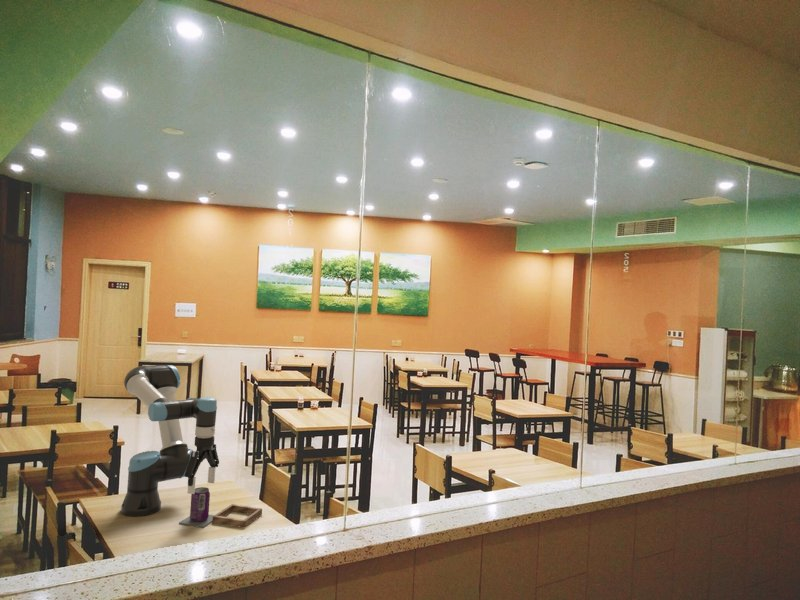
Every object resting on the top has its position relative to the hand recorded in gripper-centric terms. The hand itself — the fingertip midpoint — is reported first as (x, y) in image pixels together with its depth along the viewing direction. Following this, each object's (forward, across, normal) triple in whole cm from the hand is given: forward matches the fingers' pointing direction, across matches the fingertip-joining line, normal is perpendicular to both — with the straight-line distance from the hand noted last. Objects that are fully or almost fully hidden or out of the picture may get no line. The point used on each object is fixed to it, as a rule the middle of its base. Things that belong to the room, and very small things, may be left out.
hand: (201, 488), depth 209 cm
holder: (+13, +7, -13) cm, 20 cm away
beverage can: (+13, 0, 0) cm, 13 cm away
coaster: (+13, 0, 0) cm, 13 cm away
